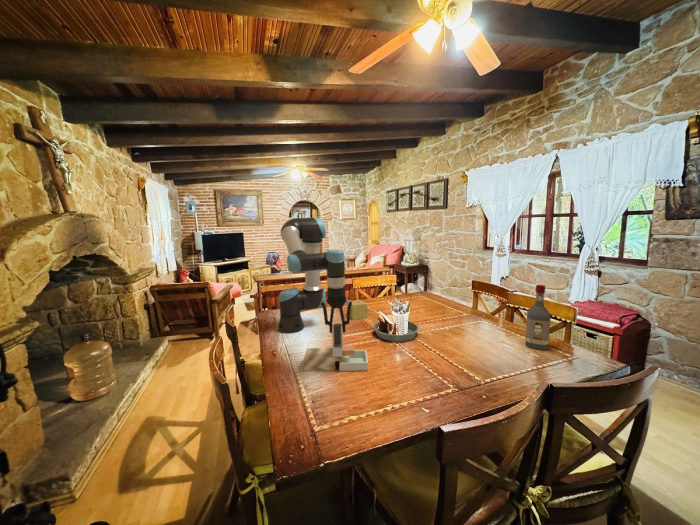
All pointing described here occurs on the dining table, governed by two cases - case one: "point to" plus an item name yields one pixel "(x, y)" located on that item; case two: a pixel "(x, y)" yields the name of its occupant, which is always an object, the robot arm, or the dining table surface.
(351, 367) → the box
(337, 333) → the scraper
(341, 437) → the dining table surface
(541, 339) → the liquor
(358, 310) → the cheese
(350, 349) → the tile
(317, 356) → the ledge
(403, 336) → the cake pan
